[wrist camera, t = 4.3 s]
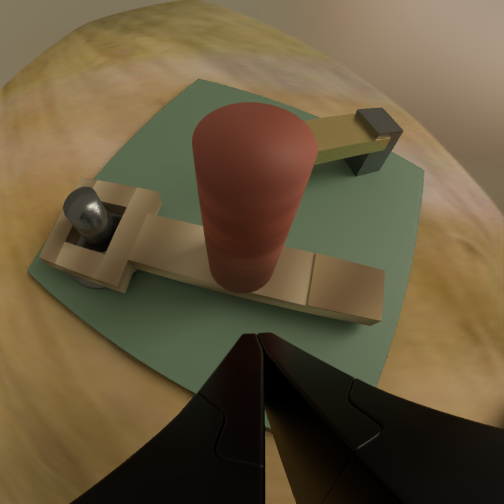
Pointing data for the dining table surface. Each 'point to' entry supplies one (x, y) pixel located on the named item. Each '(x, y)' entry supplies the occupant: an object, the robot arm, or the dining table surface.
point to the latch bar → (229, 224)
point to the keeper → (356, 139)
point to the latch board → (299, 237)
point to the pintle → (91, 225)
